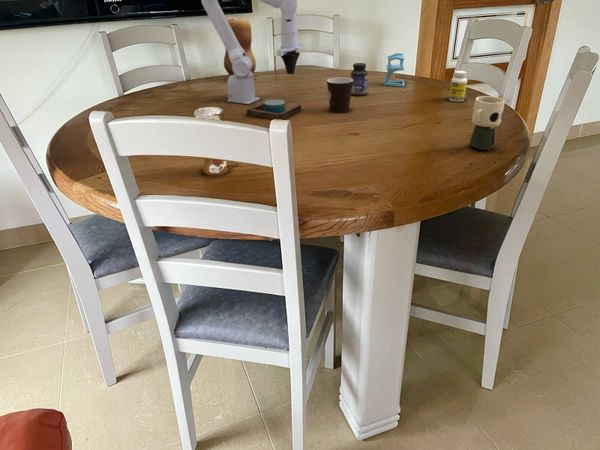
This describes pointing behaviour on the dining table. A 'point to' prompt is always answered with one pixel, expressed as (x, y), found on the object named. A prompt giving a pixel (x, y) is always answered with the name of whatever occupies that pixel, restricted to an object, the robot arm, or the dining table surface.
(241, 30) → the butternut squash
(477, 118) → the character mug
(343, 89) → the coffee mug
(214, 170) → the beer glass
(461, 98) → the supplement bottle
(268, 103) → the teal puck
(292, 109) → the walnut bay
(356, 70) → the pill bottle
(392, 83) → the chair
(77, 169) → the dining table surface
